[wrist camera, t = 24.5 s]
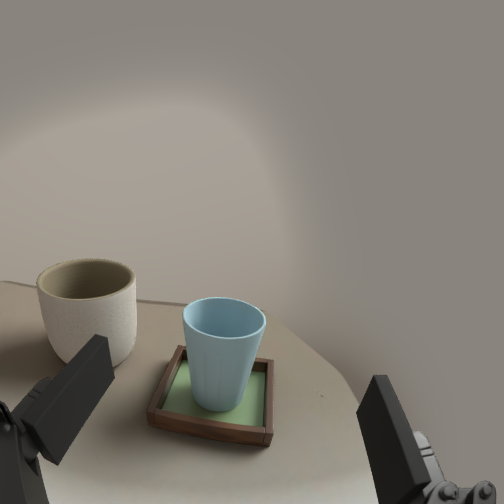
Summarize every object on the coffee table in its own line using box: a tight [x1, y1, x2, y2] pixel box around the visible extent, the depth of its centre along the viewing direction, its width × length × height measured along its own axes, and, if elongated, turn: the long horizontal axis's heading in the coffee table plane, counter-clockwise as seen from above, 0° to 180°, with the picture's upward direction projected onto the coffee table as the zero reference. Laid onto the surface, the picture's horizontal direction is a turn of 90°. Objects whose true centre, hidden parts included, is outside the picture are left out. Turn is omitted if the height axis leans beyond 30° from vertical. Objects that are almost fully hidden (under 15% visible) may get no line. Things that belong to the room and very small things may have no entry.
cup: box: [182, 297, 266, 412], centre depth 28 cm, size 8×8×10 cm
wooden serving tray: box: [146, 345, 274, 447], centre depth 29 cm, size 12×12×2 cm
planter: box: [36, 259, 137, 367], centre depth 32 cm, size 12×12×11 cm
